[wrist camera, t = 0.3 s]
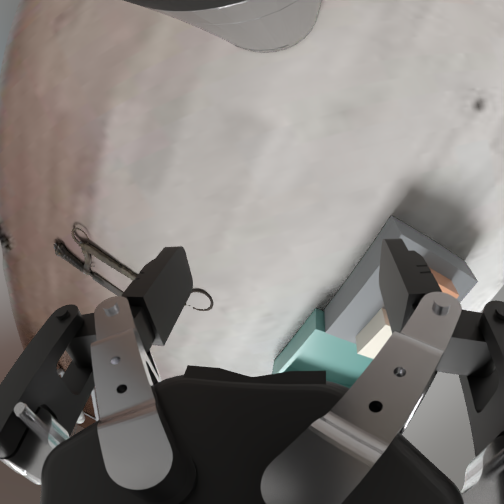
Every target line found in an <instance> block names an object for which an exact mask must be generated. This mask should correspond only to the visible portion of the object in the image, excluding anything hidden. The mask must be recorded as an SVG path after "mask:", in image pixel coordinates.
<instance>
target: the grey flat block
mask: <svg viewBox="0 0 504 504" xmlns="http://www.w3.org/2000/svg"><path fill="white" fill-rule="evenodd" d="M397 238H401V239H402V240H403V242H404V243H405V245H406V247H407V249H408V251H411V250H414V251H416V252H417V253H418V254H420V255H421V256H422V257H423V258H424V260H425V261H426V263H427V265H428V266H429V268H431V269H433V270H435V271H436V272H438V273H440V274H441V275H443V276H445V277H447V278H448V279H450V280H451V281H452V283H453V284H454V286H455V288H456V290H457V292H458V294H459V296H458V298H457V300H458V301H459V303H460V302H461V301H462V300H463V299H464V297H465V296H466V295H467V294H468V293H469V292H470V290H471V289H472V288H473V287H474V286H475V284H476V283H477V282H478V281H477V279H476V278H475V276H474V274H473V273H472V271H471V270H470V268H469V267H468V265H467V264H466V262H465V261H464V260H462V259H461V258H459V257H458V256H456V255H455V254H453V253H452V252H450V251H449V250H447V249H446V248H444V247H443V246H441V245H440V244H438V243H436V242H435V241H433V240H432V239H430V238H428V237H427V236H425V235H424V234H422V233H420V232H419V231H417V230H415V229H414V228H412V227H410V226H409V225H407V224H405V223H404V222H402V221H400V220H398V219H397V218H395V217H393V216H392V215H391V216H390V218H389V219H388V221H387V222H386V224H385V225H384V227H383V228H382V230H381V231H380V233H379V234H378V236H377V237H376V239H375V240H374V242H373V243H372V245H371V246H370V248H369V249H368V250H367V252H366V253H365V255H364V256H363V258H362V259H361V260H360V262H359V263H358V265H357V266H356V267H355V269H354V270H353V272H352V273H351V274H350V276H349V277H348V278H347V280H346V281H345V282H344V284H343V285H342V286H341V288H340V289H339V290H338V292H337V293H336V294H335V296H334V297H333V298H332V300H331V301H330V302H329V304H328V305H327V306H326V308H325V309H324V310H325V333H327V334H330V335H333V336H335V337H338V338H341V339H343V340H346V341H349V342H352V343H354V344H356V336H357V335H358V334H359V333H360V332H361V330H362V329H363V328H364V327H365V326H366V325H367V324H368V323H369V322H370V321H371V319H372V318H373V317H374V316H375V315H376V314H377V313H378V312H379V310H380V309H381V308H383V309H385V305H384V302H383V298H382V295H381V291H380V287H379V268H380V258H381V246H382V241H383V239H397Z"/></svg>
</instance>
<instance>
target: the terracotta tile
mask: <svg viewBox="0 0 504 504" xmlns="http://www.w3.org/2000/svg"><path fill="white" fill-rule="evenodd" d="M430 270H431V273H432V274H433V275H434V277H435V279H436V281H437V283H438V284H439V286H440V288H441V290H442V292H444V293H447V294H450V295H452V296H453V297H455V298H456V299H457V298H458V296H459V294H458V292H457V290H456V288H455V286H454V284H453V283H452V281H451V280H450V279H448V278H447V277H445V276H443V275H441V274H440V273H438V272H436V271H435V270H433V269H431V268H430Z"/></svg>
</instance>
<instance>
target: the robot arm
mask: <svg viewBox="0 0 504 504" xmlns="http://www.w3.org/2000/svg"><path fill="white" fill-rule="evenodd" d="M124 1H127V2H131V3H134V4H137V5H140V6H143V7H146V8H149V9H152V10H154V11H157V12H160V13H163V14H165V15H168V16H171V17H173V18H176V19H179V20H181V21H184V22H186V23H189V24H191V25H193V26H196V27H198V28H200V29H202V30H205V31H207V32H209V33H211V34H213V35H216V36H218V37H220V38H222V39H224V40H226V41H228V42H230V43H232V44H234V45H235V46H237V47H240V48H243V49H246V50H250V51H253V52H264V53H265V52H276V51H280V50H284V49H287V48H289V47H291V46H293V45H296V44H297V43H298V42H300V41H301V40H303V39H304V38H305V37H306V36H307V35H308V34H309V32H310V31H311V30H312V28H313V26H314V24H315V23H316V19H317V15H318V12H319V8H320V4H321V0H124ZM379 287H380V291H381V295H382V298H383V302H384V305H385V309H386V312H387V316H388V320H389V323H390V327H391V331H392V335H391V336H390V338H389V339H388V340H387V342H386V343H385V344H384V346H383V347H382V349H381V350H380V351H379V353H378V354H377V355H376V356H375V358H374V359H373V360H372V362H371V363H370V364H369V365H368V367H367V368H366V369H365V371H364V372H363V373H362V374H361V375H360V377H359V378H358V379H357V380H356V382H355V383H354V384H353V385H352V386H351V388H350V389H349V388H347V387H345V386H343V385H340V384H337V383H334V382H329V381H326V371H287V372H282V373H276V374H271V375H265V376H259V377H249V376H245V375H241V374H238V373H234V372H231V371H227V370H224V369H221V368H212V367H200V366H189V365H188V366H187V369H186V371H185V374H184V375H181V376H176V377H172V378H168V379H165V380H163V381H162V379H161V376H160V374H159V371H158V368H157V366H156V363H155V360H154V357H153V355H152V352H151V350H150V348H151V346H152V345H158V346H164V345H165V343H166V341H167V339H168V337H169V335H170V333H171V331H172V329H173V327H174V325H175V323H176V321H177V319H178V317H179V315H180V313H181V311H182V309H183V307H184V305H185V304H186V302H187V300H188V298H189V296H190V294H191V292H192V288H193V280H192V275H191V272H190V268H189V264H188V260H187V257H186V253H185V250H184V248H183V247H181V246H180V247H165V248H164V249H163V250H162V251H161V252H160V254H159V255H158V256H157V257H156V259H154V260H152V261H151V262H149V263H148V264H146V265H145V266H144V268H143V269H142V270H141V271H140V274H138V275H137V276H136V278H135V280H133V281H132V283H131V284H130V285H129V286H128V288H127V289H126V290H125V292H124V293H123V294H122V295H121V296H115V297H111V298H108V299H106V300H104V301H103V302H101V303H100V304H99V305H98V306H97V307H96V309H95V312H94V313H91V314H85V315H81V313H80V311H79V309H78V307H77V306H75V305H65V306H63V307H61V308H59V309H57V310H56V311H55V312H54V313H53V314H52V315H51V316H50V317H49V319H48V320H47V321H46V322H45V324H44V325H43V326H42V327H41V329H40V330H39V331H38V333H37V334H36V335H35V337H34V338H33V339H32V340H31V342H30V343H29V344H28V346H27V347H26V349H25V350H24V351H23V353H22V354H21V355H20V357H19V358H18V360H17V361H16V362H15V364H14V365H13V367H12V368H11V370H10V371H9V372H8V374H7V375H6V377H5V379H4V380H3V381H2V383H1V384H0V460H1V461H2V462H4V463H5V464H7V465H8V466H9V467H10V468H12V469H13V470H14V471H16V472H17V473H19V474H21V475H23V476H24V477H26V478H28V479H29V480H30V481H32V482H33V483H35V484H41V501H40V504H504V302H502V301H491V302H489V303H487V304H486V305H485V307H484V310H483V313H479V312H472V311H466V310H462V308H461V305H460V303H459V301H458V300H457V299H456V298H455V297H453V296H452V295H450V294H447V293H444V292H442V290H441V288H440V286H439V284H438V283H437V281H436V279H435V277H434V275H433V274H432V273H431V270H430V268H429V266H428V265H427V263H426V261H425V260H424V258H423V257H422V256H421V255H420V254H418V253H417V252H416V251H414V250H411V251H408V249H407V247H406V245H405V243H404V242H403V240H402V239H401V238H397V239H383V241H382V246H381V258H380V268H379ZM65 350H66V351H67V353H68V354H69V356H70V357H71V359H72V362H71V363H70V365H69V367H68V368H67V370H66V372H65V373H64V375H63V377H62V378H60V376H59V375H58V373H57V369H56V367H57V362H58V361H59V359H60V358H61V356H62V354H63V353H64V351H65ZM437 372H445V373H452V374H459V378H460V381H461V385H462V389H463V393H464V397H465V402H466V406H467V411H468V415H469V420H470V425H471V431H472V436H473V442H474V448H475V455H476V457H475V458H474V459H473V460H472V461H471V462H470V464H469V465H468V467H467V470H466V473H465V483H464V487H463V490H462V491H461V493H460V491H459V489H458V488H457V486H456V485H455V484H454V483H453V482H452V481H451V480H450V479H449V478H448V477H447V476H446V475H445V474H443V473H442V472H441V471H440V470H439V469H438V468H437V467H436V466H435V465H434V464H433V463H432V462H430V461H429V460H428V459H427V458H426V457H425V456H424V455H423V454H422V453H421V452H420V451H419V450H418V449H416V448H415V447H414V446H413V445H412V444H411V443H410V442H409V441H408V440H407V439H406V438H405V437H404V436H403V435H402V434H403V432H404V431H405V429H406V428H407V426H408V424H409V423H410V421H411V419H412V418H413V416H414V414H415V412H416V410H417V409H418V407H419V405H420V404H421V402H422V400H423V398H424V397H425V395H426V393H427V391H428V389H429V387H430V386H431V383H432V382H433V380H434V378H435V376H436V374H437ZM94 386H95V390H96V396H97V403H98V409H99V414H100V420H98V421H96V422H95V423H93V424H92V425H90V426H88V427H87V428H85V429H83V430H82V431H80V432H78V433H77V434H75V435H73V436H72V437H70V435H71V433H72V431H73V429H74V426H75V424H76V422H77V420H78V418H79V416H80V414H81V412H82V410H83V408H84V406H85V404H86V402H87V400H88V398H89V396H90V394H91V392H92V390H93V388H94ZM69 437H70V438H69Z"/></svg>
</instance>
